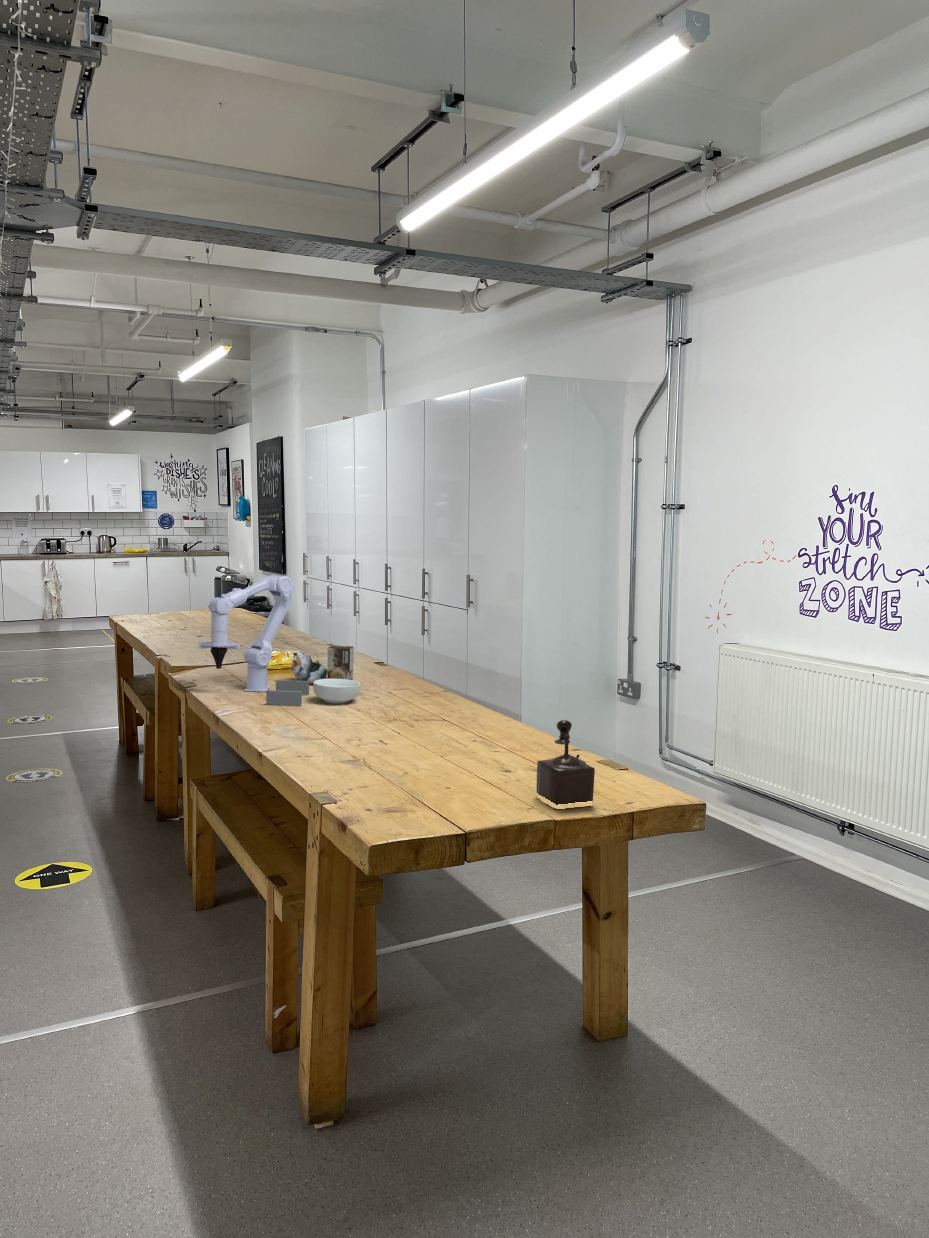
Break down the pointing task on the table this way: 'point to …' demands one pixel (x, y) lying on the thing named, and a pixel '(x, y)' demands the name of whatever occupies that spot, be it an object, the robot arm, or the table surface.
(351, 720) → the table surface
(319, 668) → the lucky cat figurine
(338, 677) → the coffee box
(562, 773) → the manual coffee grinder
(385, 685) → the table surface
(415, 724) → the table surface
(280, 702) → the gray parallel panels
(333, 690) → the cereal bowl
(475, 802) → the table surface
